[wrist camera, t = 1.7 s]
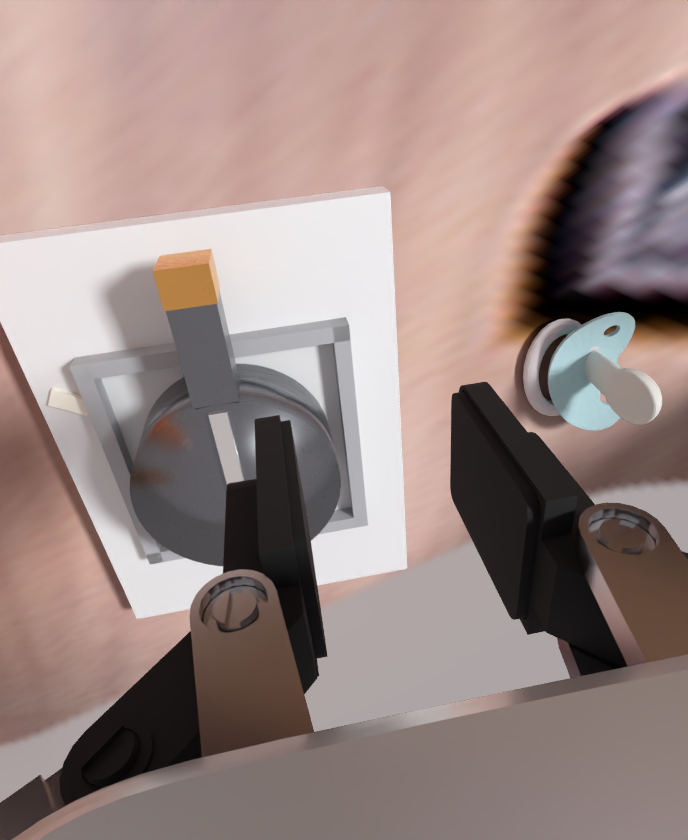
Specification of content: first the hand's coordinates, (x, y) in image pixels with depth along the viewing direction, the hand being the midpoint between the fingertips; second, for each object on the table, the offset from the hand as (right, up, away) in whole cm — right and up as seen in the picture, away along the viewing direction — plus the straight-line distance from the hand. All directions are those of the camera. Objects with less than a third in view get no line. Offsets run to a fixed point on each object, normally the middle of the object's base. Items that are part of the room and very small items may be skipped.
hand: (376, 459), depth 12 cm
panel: (-7, 0, +19) cm, 20 cm away
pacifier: (+13, +4, +20) cm, 24 cm away
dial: (-7, +2, +16) cm, 18 cm away
